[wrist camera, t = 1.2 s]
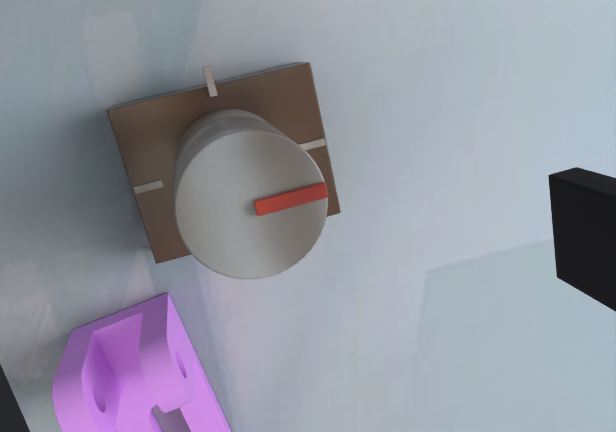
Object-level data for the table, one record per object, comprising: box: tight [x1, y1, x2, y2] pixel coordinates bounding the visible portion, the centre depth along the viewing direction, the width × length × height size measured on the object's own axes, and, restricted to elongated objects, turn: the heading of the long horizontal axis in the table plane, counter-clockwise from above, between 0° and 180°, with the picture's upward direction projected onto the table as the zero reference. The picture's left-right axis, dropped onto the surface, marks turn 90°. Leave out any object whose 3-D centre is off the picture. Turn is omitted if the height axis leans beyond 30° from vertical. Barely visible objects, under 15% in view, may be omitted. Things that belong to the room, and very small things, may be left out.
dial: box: [174, 109, 328, 279], centre depth 25 cm, size 6×6×9 cm
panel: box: [107, 62, 341, 264], centre depth 30 cm, size 10×10×3 cm
